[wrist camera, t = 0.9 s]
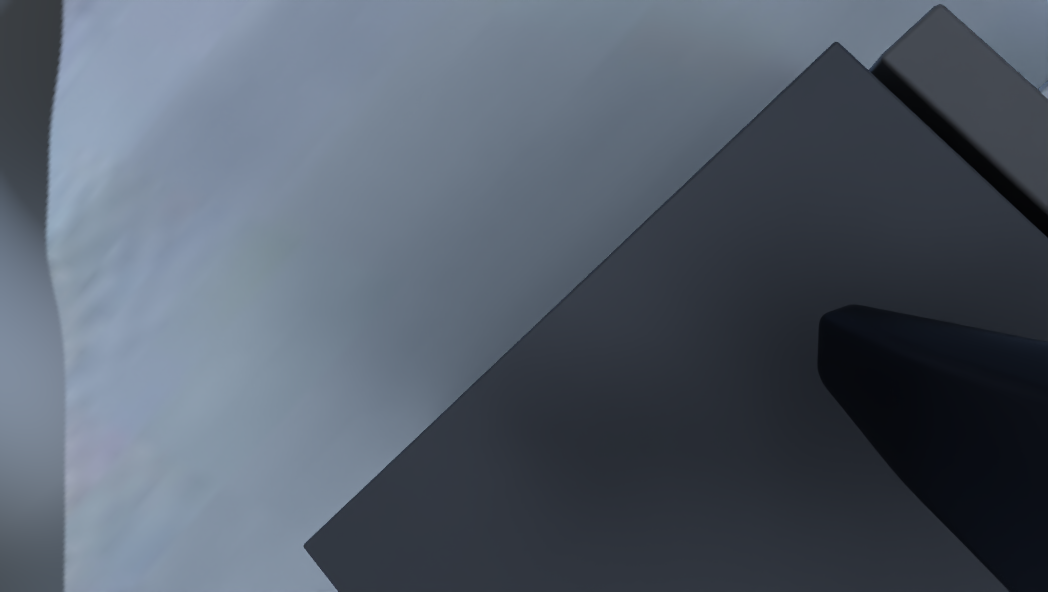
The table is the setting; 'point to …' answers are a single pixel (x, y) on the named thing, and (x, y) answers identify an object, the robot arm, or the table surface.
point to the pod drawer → (974, 106)
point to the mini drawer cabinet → (714, 382)
